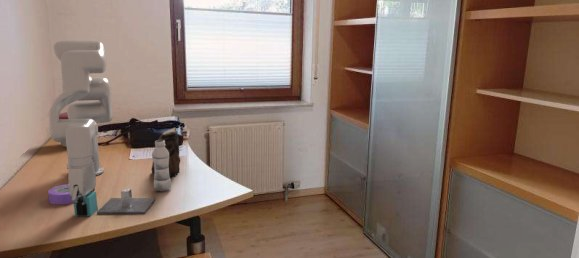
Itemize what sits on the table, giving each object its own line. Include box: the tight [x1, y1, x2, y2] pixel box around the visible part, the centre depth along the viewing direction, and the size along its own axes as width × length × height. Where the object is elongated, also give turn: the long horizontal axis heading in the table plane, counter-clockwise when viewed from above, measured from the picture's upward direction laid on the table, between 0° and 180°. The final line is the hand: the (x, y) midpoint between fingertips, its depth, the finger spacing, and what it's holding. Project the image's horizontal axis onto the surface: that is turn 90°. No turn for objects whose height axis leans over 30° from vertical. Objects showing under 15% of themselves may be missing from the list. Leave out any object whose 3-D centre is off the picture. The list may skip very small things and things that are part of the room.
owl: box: [151, 127, 181, 179], centre depth 174 cm, size 13×13×20 cm
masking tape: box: [47, 183, 74, 205], centre depth 148 cm, size 12×12×4 cm
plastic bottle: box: [151, 139, 172, 192], centre depth 155 cm, size 6×7×20 cm
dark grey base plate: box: [96, 188, 156, 215], centre depth 141 cm, size 16×12×6 cm
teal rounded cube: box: [73, 191, 99, 217], centre depth 136 cm, size 5×5×7 cm
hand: (86, 210), depth 136 cm, fingers closed on teal rounded cube, 5 cm apart
